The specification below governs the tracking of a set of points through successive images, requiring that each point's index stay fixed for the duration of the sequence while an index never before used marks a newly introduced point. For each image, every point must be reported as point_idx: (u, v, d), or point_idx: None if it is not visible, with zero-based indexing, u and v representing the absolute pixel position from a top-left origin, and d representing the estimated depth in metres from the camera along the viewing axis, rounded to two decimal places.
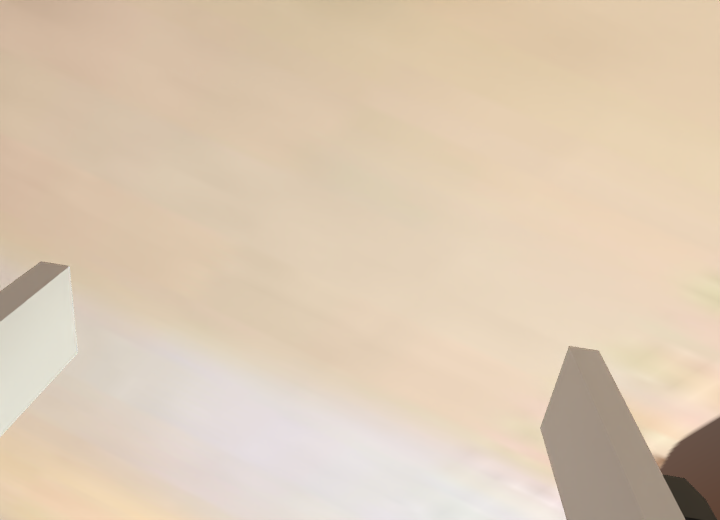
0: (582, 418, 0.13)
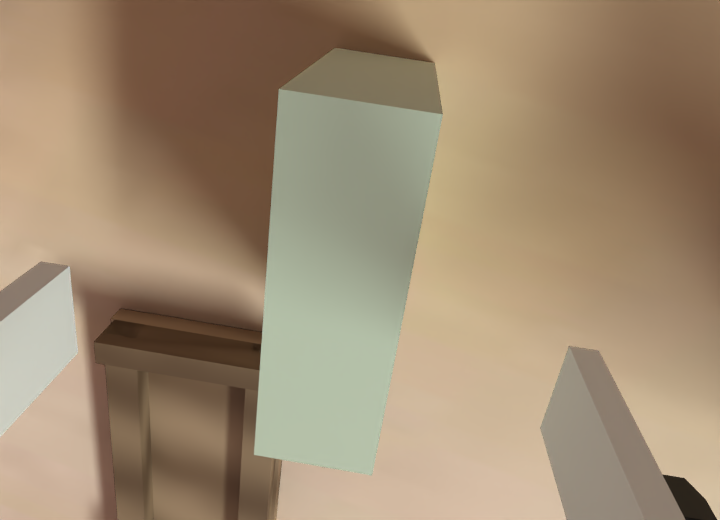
0: (582, 418, 0.13)
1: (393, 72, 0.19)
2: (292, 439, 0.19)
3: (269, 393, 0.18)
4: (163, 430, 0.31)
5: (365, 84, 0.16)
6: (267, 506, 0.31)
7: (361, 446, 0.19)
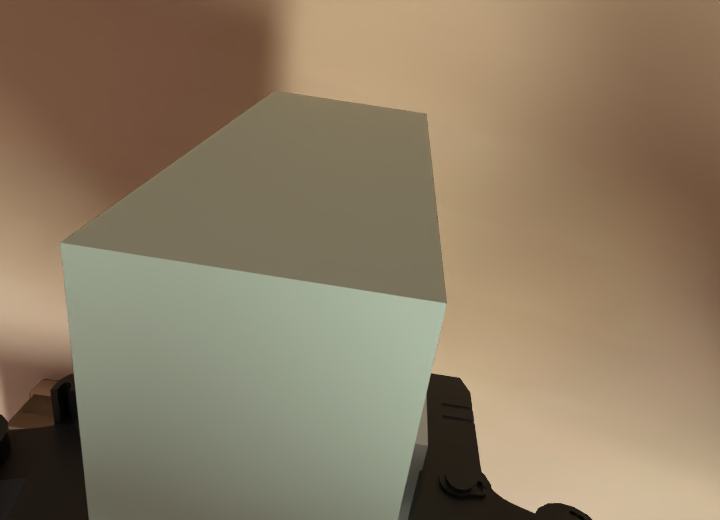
0: None
1: (355, 146, 0.11)
2: None
3: None
4: None
5: (290, 192, 0.08)
6: None
7: None
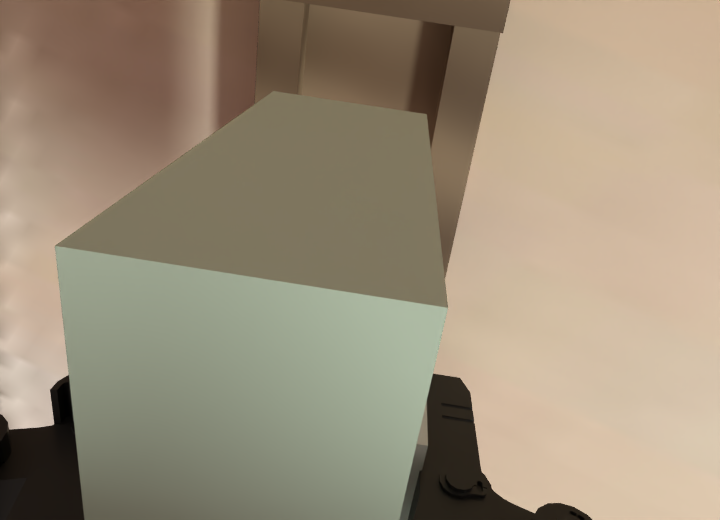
0: None
1: (355, 147, 0.11)
2: None
3: None
4: None
5: (289, 194, 0.08)
6: (449, 248, 0.24)
7: None
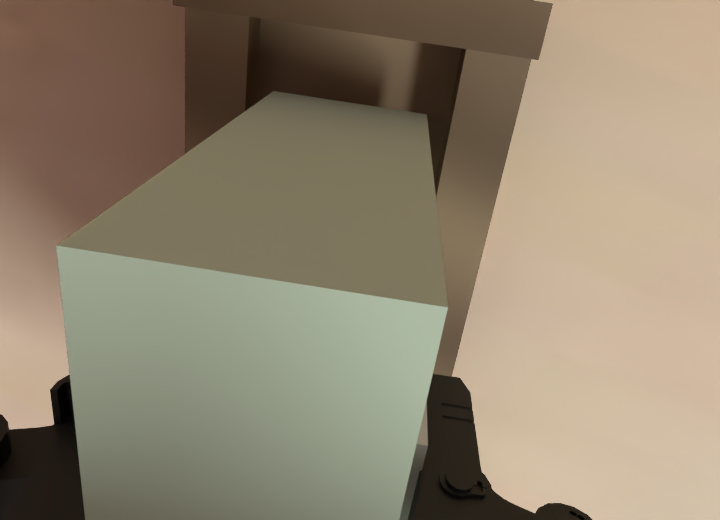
0: None
1: (355, 147, 0.11)
2: None
3: None
4: None
5: (289, 194, 0.08)
6: (457, 345, 0.18)
7: None
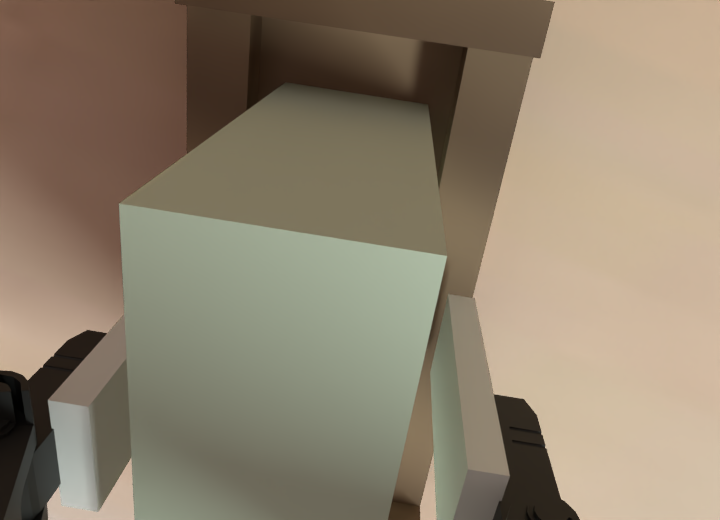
0: (447, 353, 0.15)
1: (363, 131, 0.12)
2: None
3: None
4: None
5: (308, 168, 0.09)
6: None
7: None
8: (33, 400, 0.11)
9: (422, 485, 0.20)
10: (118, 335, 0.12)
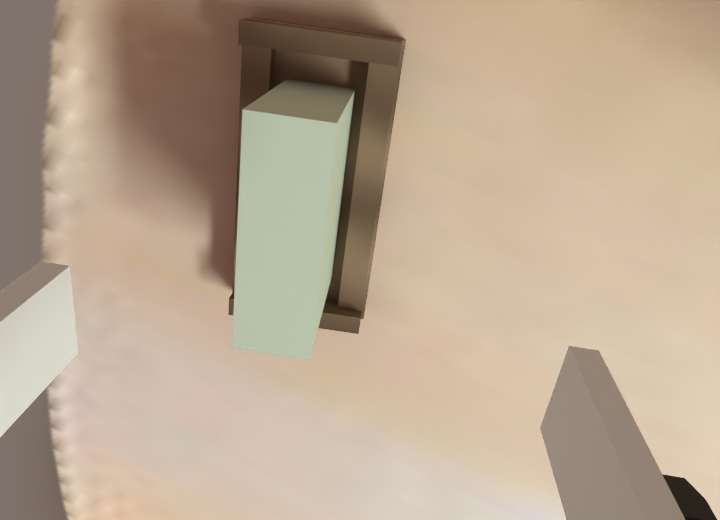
0: (582, 417, 0.13)
1: (320, 97, 0.29)
2: (257, 335, 0.29)
3: (241, 303, 0.28)
4: None
5: (297, 105, 0.26)
6: (375, 211, 0.35)
7: (302, 339, 0.29)
8: None
9: (362, 298, 0.37)
10: None
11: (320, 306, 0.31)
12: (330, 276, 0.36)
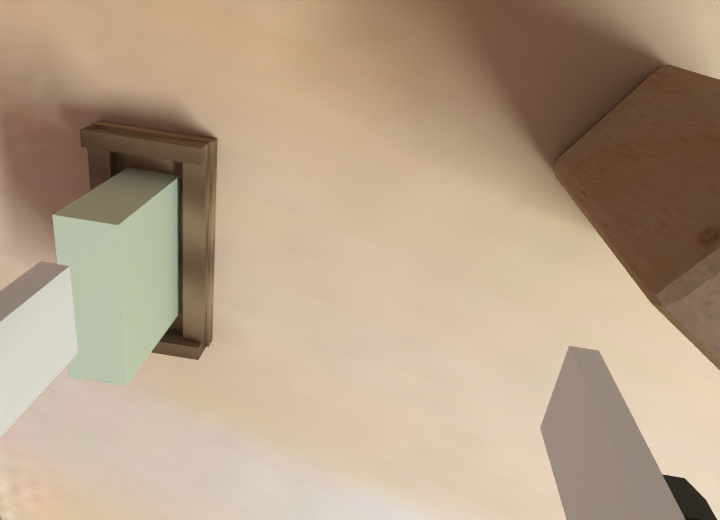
0: (582, 417, 0.13)
1: (135, 191, 0.39)
2: (85, 368, 0.39)
3: None
4: None
5: (104, 205, 0.36)
6: (202, 267, 0.45)
7: (118, 371, 0.39)
8: None
9: (200, 332, 0.47)
10: None
11: (143, 344, 0.41)
12: (172, 315, 0.46)
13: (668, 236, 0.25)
